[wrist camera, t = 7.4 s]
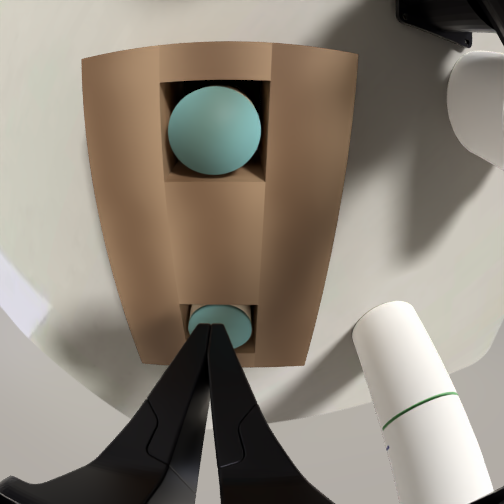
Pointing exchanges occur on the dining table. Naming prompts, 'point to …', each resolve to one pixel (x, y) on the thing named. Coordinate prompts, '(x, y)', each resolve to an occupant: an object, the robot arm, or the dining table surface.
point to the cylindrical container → (418, 410)
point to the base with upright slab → (478, 104)
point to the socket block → (220, 192)
